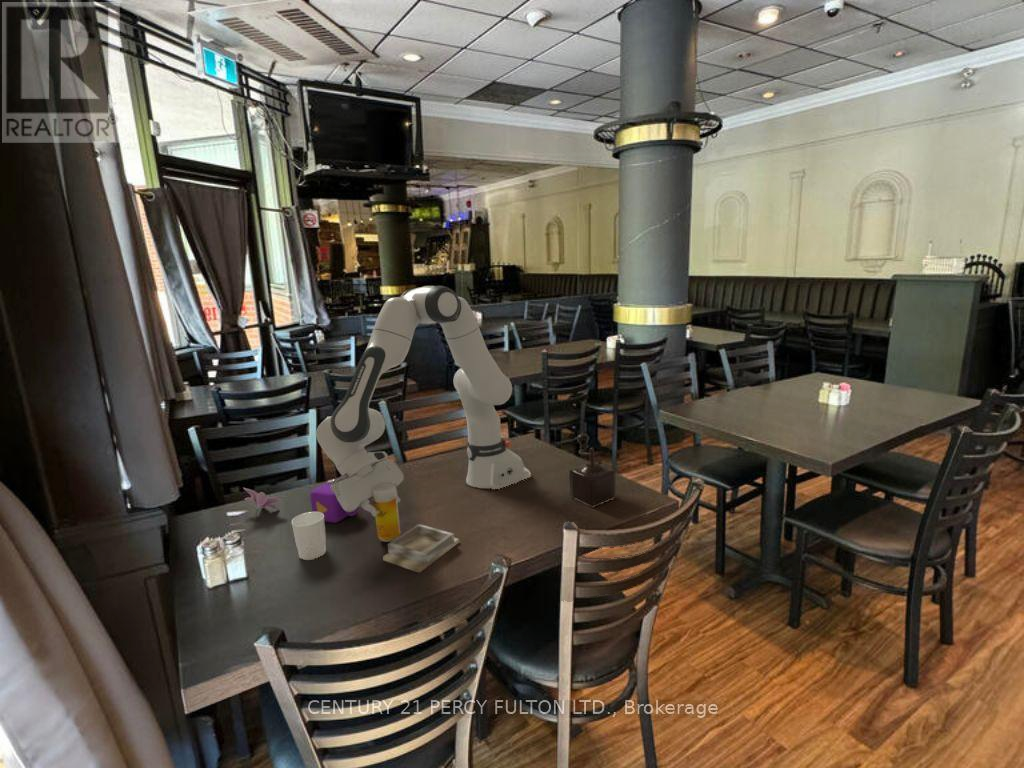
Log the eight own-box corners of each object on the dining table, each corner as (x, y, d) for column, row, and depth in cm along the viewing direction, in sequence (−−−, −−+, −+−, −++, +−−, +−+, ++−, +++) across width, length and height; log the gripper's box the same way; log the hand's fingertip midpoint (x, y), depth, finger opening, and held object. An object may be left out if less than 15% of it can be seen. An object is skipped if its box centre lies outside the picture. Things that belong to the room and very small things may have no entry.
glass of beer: (376, 534, 144) (370, 484, 141) (398, 529, 146) (392, 479, 143) (380, 545, 139) (373, 492, 135) (403, 539, 141) (397, 487, 137)
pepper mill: (618, 498, 162) (618, 443, 158) (592, 508, 156) (591, 451, 152) (584, 482, 174) (583, 431, 170) (558, 491, 168) (557, 438, 164)
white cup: (304, 545, 141) (299, 511, 139) (332, 545, 141) (328, 511, 139) (291, 562, 134) (286, 526, 131) (321, 561, 133) (316, 525, 131)
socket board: (383, 560, 133) (381, 547, 132) (424, 532, 146) (423, 520, 145) (419, 572, 127) (418, 559, 126) (459, 542, 140) (458, 530, 139)
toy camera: (351, 526, 151) (347, 494, 149) (308, 523, 154) (304, 492, 151) (368, 509, 161) (365, 479, 159) (328, 507, 164) (324, 477, 162)
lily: (287, 520, 158) (290, 488, 161) (247, 520, 150) (251, 486, 153) (269, 522, 166) (272, 491, 169) (230, 521, 157) (234, 489, 160)
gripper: (331, 476, 133) (363, 519, 130) (389, 449, 150) (418, 487, 147) (322, 489, 136) (353, 531, 133) (379, 461, 153) (408, 499, 150)
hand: (387, 508), depth 140 cm, fingers closed on glass of beer, 6 cm apart
